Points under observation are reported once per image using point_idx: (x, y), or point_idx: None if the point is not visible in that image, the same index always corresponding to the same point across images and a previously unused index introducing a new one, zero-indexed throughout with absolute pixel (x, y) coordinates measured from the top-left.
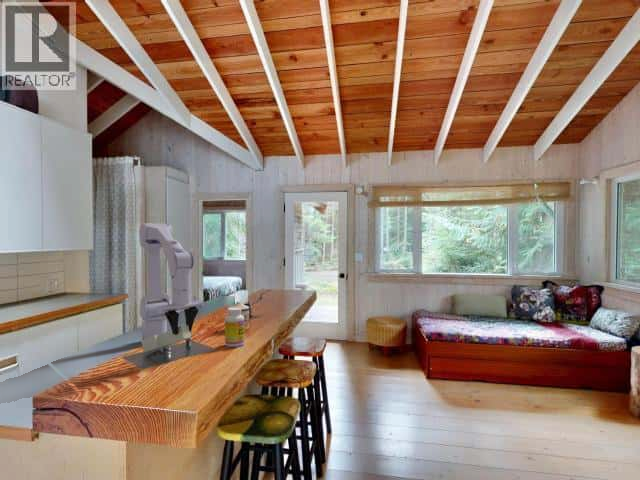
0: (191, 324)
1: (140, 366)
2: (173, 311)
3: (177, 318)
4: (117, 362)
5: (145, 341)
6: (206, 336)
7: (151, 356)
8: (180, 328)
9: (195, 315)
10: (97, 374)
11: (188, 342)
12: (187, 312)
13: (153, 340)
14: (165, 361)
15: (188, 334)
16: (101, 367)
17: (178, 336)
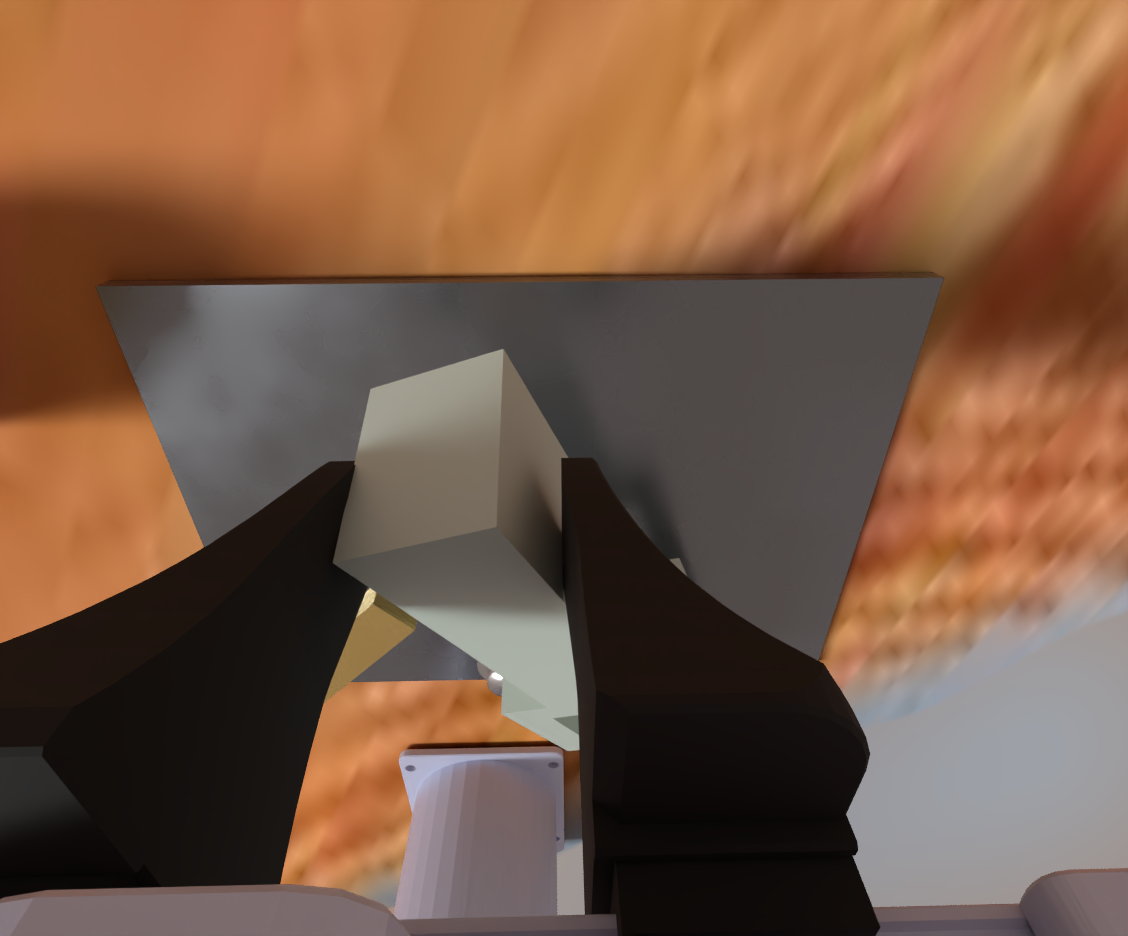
0: (280, 515)
1: (907, 358)
2: (702, 884)
3: (616, 615)
4: (872, 613)
5: None
6: None
7: (687, 543)
8: (510, 506)
9: (69, 627)
10: (1124, 471)
11: None
12: (231, 827)
13: None
14: (694, 319)
15: (395, 416)
16: (993, 589)
17: (541, 453)
